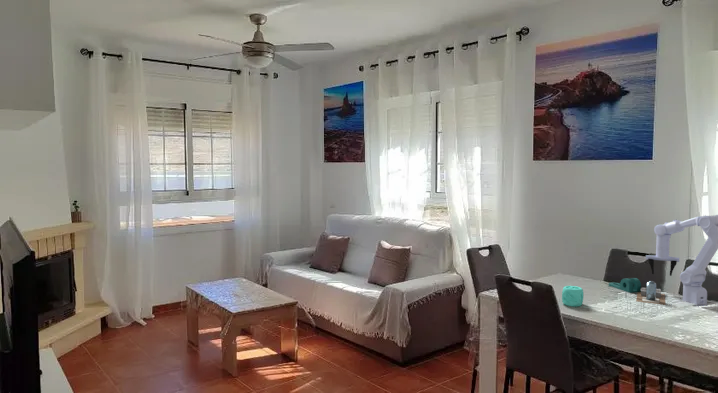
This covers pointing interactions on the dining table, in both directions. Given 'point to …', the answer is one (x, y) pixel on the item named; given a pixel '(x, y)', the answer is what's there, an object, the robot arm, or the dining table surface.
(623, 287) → the bracket
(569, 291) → the decorative dice
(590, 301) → the dining table surface
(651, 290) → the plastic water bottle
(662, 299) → the housing plate
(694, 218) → the robot arm
